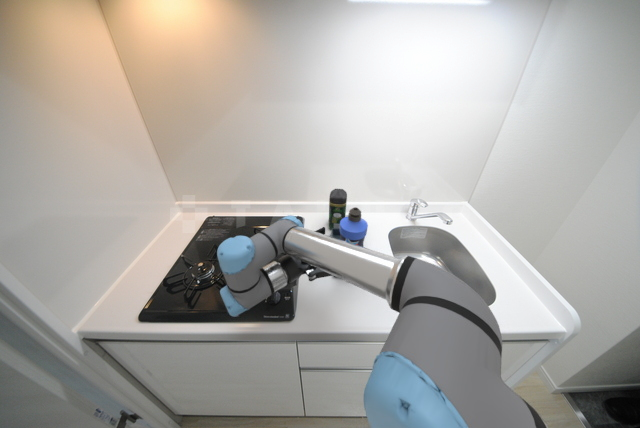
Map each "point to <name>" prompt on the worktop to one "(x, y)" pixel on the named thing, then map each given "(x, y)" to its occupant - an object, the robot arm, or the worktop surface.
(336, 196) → the coffee jar
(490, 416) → the robot arm
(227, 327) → the worktop surface
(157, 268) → the worktop surface
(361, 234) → the water bottle
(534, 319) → the worktop surface
